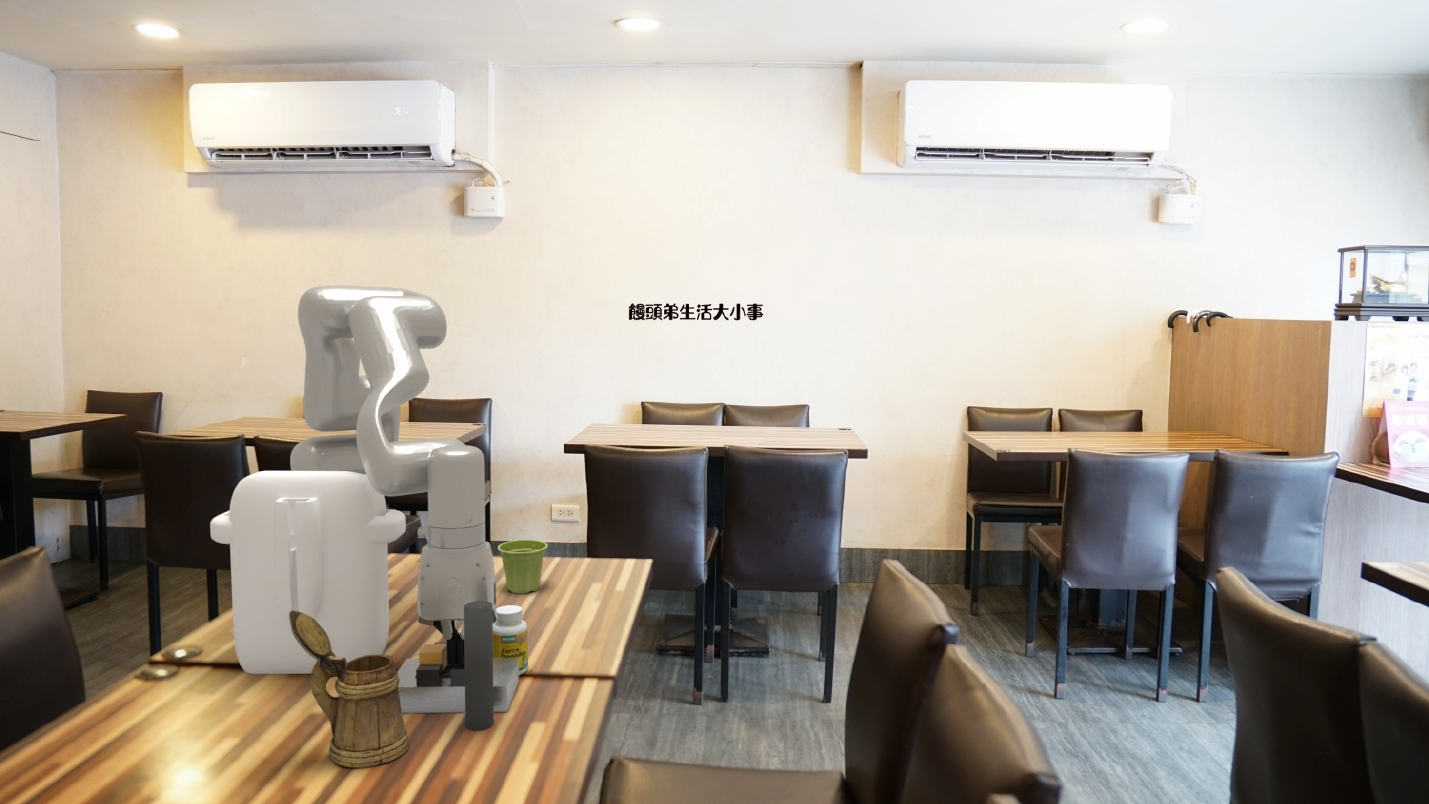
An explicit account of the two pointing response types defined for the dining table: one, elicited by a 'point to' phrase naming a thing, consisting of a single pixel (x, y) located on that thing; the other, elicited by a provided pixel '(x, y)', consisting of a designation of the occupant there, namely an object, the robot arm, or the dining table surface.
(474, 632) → the post
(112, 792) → the dining table surface
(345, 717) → the wooden mug
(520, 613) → the supplement bottle
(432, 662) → the block
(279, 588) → the toaster
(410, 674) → the breaker panel
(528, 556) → the plant pot
